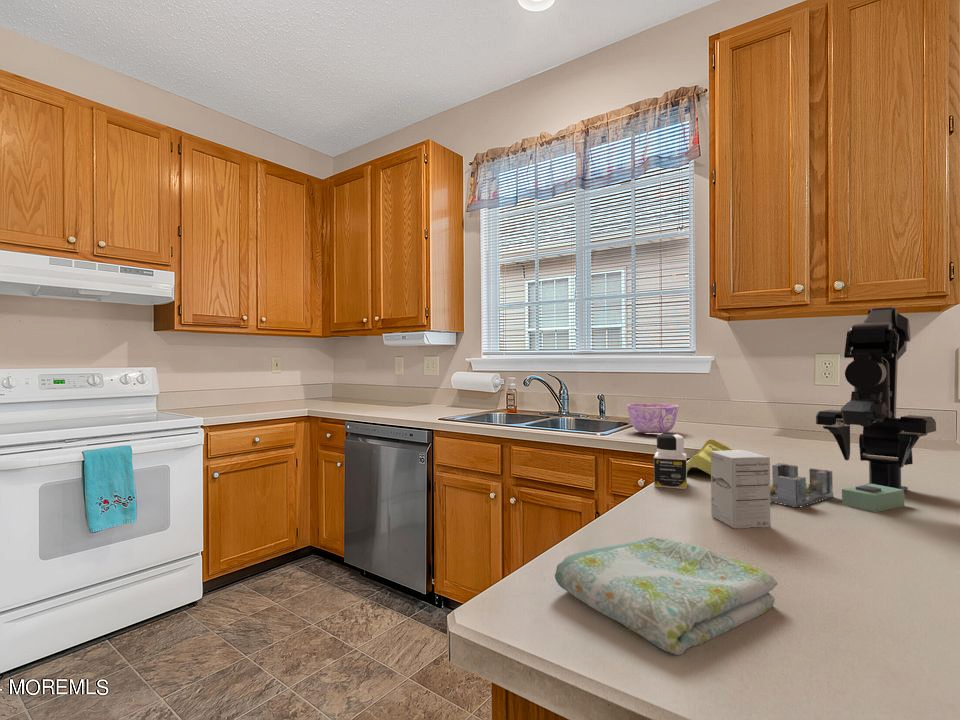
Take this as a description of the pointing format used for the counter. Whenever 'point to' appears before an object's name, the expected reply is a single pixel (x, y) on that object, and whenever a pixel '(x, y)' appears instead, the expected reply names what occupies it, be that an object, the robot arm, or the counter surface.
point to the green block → (873, 497)
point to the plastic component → (706, 455)
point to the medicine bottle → (670, 462)
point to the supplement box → (740, 488)
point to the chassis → (799, 485)
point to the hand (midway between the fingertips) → (872, 463)
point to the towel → (668, 589)
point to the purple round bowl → (653, 417)
